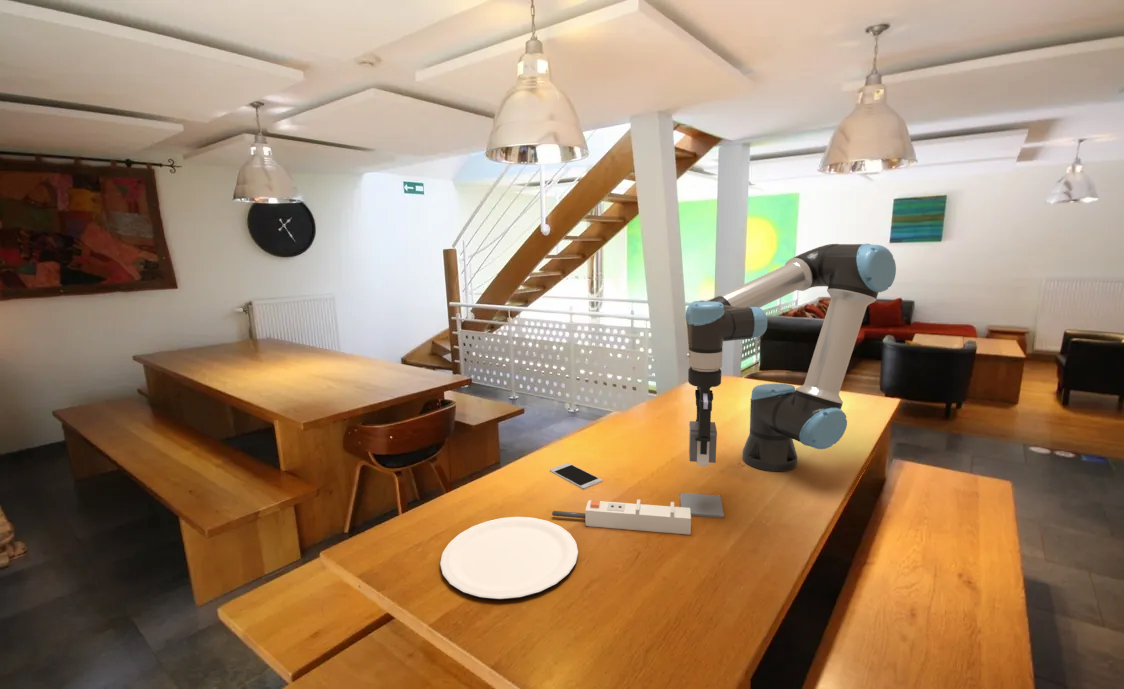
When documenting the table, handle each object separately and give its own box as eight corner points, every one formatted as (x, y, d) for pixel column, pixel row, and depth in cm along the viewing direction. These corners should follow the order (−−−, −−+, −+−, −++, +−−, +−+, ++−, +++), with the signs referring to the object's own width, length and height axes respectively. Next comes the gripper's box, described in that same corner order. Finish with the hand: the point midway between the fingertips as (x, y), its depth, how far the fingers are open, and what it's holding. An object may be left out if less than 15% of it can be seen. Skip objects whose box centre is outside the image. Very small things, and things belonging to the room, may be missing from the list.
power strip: (689, 523, 124) (690, 503, 123) (690, 534, 119) (691, 513, 118) (554, 512, 130) (553, 493, 129) (550, 522, 126) (549, 502, 125)
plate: (525, 626, 93) (525, 617, 93) (410, 574, 108) (409, 567, 108) (602, 543, 117) (602, 536, 117) (499, 511, 133) (499, 504, 132)
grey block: (713, 452, 131) (715, 422, 129) (715, 463, 125) (717, 431, 123) (688, 451, 132) (689, 421, 131) (689, 461, 126) (690, 429, 125)
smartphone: (568, 465, 158) (567, 462, 158) (603, 482, 146) (603, 479, 146) (549, 472, 154) (548, 469, 153) (583, 491, 142) (583, 487, 142)
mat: (720, 497, 135) (720, 495, 135) (723, 518, 126) (724, 515, 125) (680, 495, 137) (680, 492, 137) (680, 514, 128) (680, 512, 127)
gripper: (687, 358, 134) (685, 443, 139) (689, 377, 116) (687, 475, 120) (718, 359, 132) (714, 445, 137) (725, 379, 114) (721, 478, 119)
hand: (701, 459), depth 129 cm, fingers closed on grey block, 6 cm apart
